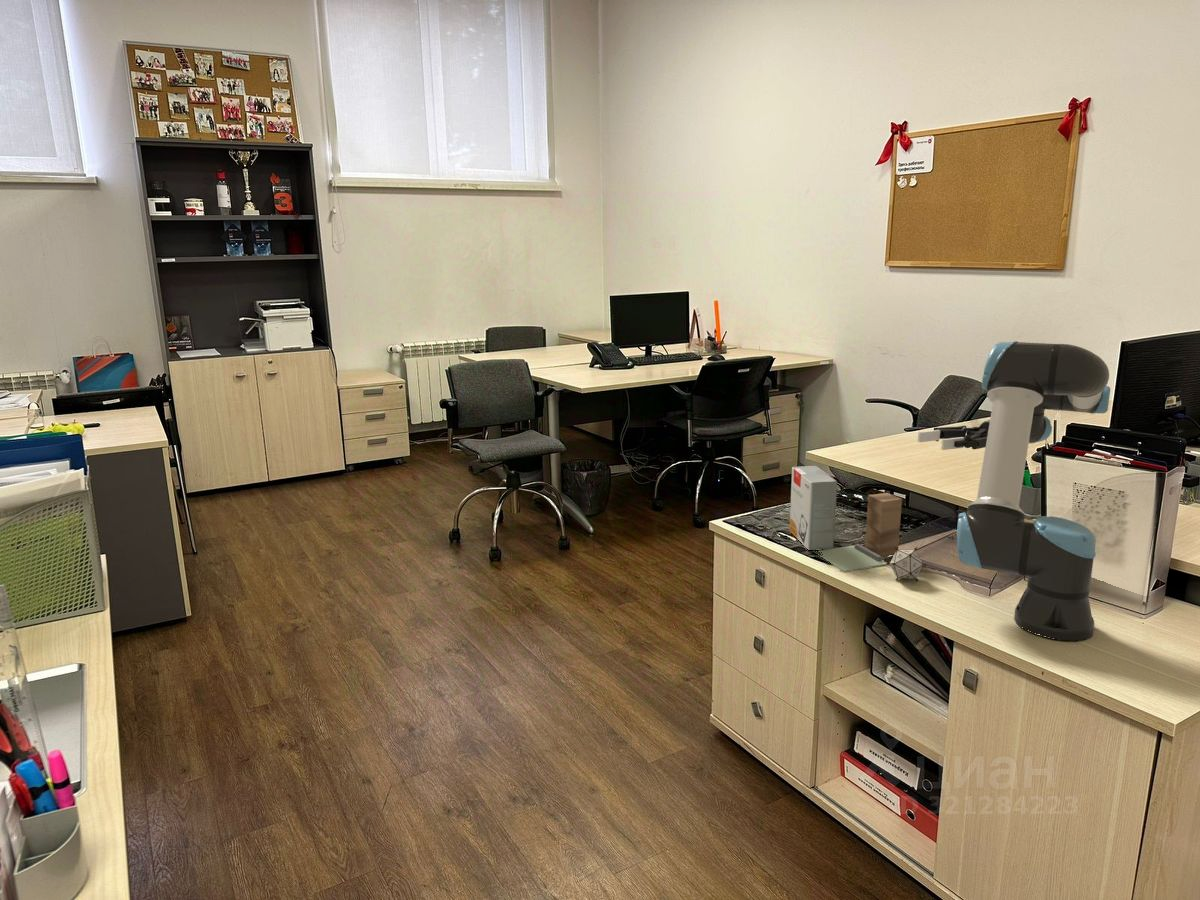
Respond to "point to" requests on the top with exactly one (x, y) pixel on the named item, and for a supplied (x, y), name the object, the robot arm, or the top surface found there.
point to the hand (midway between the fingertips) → (930, 440)
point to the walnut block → (883, 524)
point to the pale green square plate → (852, 558)
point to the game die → (906, 564)
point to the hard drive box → (813, 507)
